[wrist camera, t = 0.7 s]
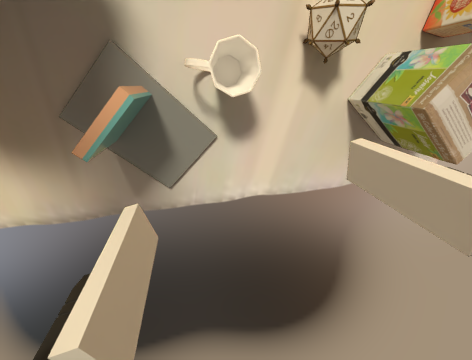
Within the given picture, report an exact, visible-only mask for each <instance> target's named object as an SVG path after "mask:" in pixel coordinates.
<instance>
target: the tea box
mask: <svg viewBox="0 0 472 360" xmlns="http://www.w3.org/2000/svg"><path fill="white" fill-rule="evenodd" d="M348 100H349V101H350V102H351V104H352V105H353V106H354V108H355V109H356V110H357V111H358V112H359V114H360V115H361V116H362V117H363V119H364V120H365V121H366V122H367V123H368V125H369V126H370V127H371V128H372V129H373V131H374V132H375V133H376V134H377V136H378V137H379V138H380V139H381V140H382V141H384V142H387V143H390V144H393V145H396V146H399V147H402V148H405V149H408V150H412V151H415V152H417V153H420V154H423V155H427V156H430V157H433V158H436V159H439V160H442V161H446V162H449V163H453V164H458V163H459V162H460V161H462V160H463V159H464V158H465V157H466V156H468V155H469V153H471V152H472V43H470V44H462V45H454V46H446V47H438V48H430V49H422V50H414V51H408V52H399V53H391V54H386V55H385V56H384V57H383V58H382V59H381V61H380V62H379V63H378V64H377V65H376V66H375V68H374V69H373V70H372V71H371V72H370V73H369V75H368V76H367V77H366V78H365V79H364V81H363V82H362V83H361V84H360V85H359V86H358V88H357V89H356V90H355V91H354V92H353V93H352V95H351V96H350V97H349V98H348Z"/></svg>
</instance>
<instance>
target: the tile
mask: <svg viewBox="0 0 472 360" xmlns="http://www.w3.org/2000/svg"><path fill="white" fill-rule="evenodd" d="M151 95H152V94H151V93H149V92H148V91H147V90H146V89H145V88H143V87H142V86H119V87H118V88H117V90H116V91H115V92H114V94H113V95H112V97H111V98H110V99H109V101H108V102H107V104H106V105H105V106H104V108H103V109H102V111H101V112H100V113H99V115H98V116H97V118H96V119H95V120H94V122H93V123H92V125H91V126H90V127H89V129H88V130H87V132H86V133H85V134H84V136H83V137H82V139H81V140H80V141H79V143H78V144H77V146H76V147H75V148H74V150H73V151H72V154H74V155H76V156H77V157H79V158H81V159H83V160H84V161H86V162H88V161H89V160H91V159H92V158H94V157H95V156H96V155H98V154H99V153H101V152H102V151H103V150H105V149H106V148H108V147H109V146H110V145H112V144H113V143H114V142H116V141H117V140H118V138H119V137H120V136H121V134H122V133H123V132H124V131H125V129H126V128H127V127H128V125H129V124H130V123H131V121H132V120H133V119H134V118H135V116H136V115H137V114H138V112H139V111H140V110H141V108H142V107H143V106H144V104H145V103H146V102H147V101H148V99H149V98H150V97H151Z"/></svg>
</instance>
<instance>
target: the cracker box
mask: <svg viewBox="0 0 472 360" xmlns="http://www.w3.org/2000/svg"><path fill="white" fill-rule="evenodd" d="M423 31H424V32H428V33H431V34H434V35H437V36H440V37H443V38H444V37H449V36H454V35H460V34H465V33H470V32H472V0H436V1H435V3H434V6H433V8H432V10H431V12H430V15H429V17H428V19H427V21H426V24H425V26H424V28H423Z"/></svg>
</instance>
